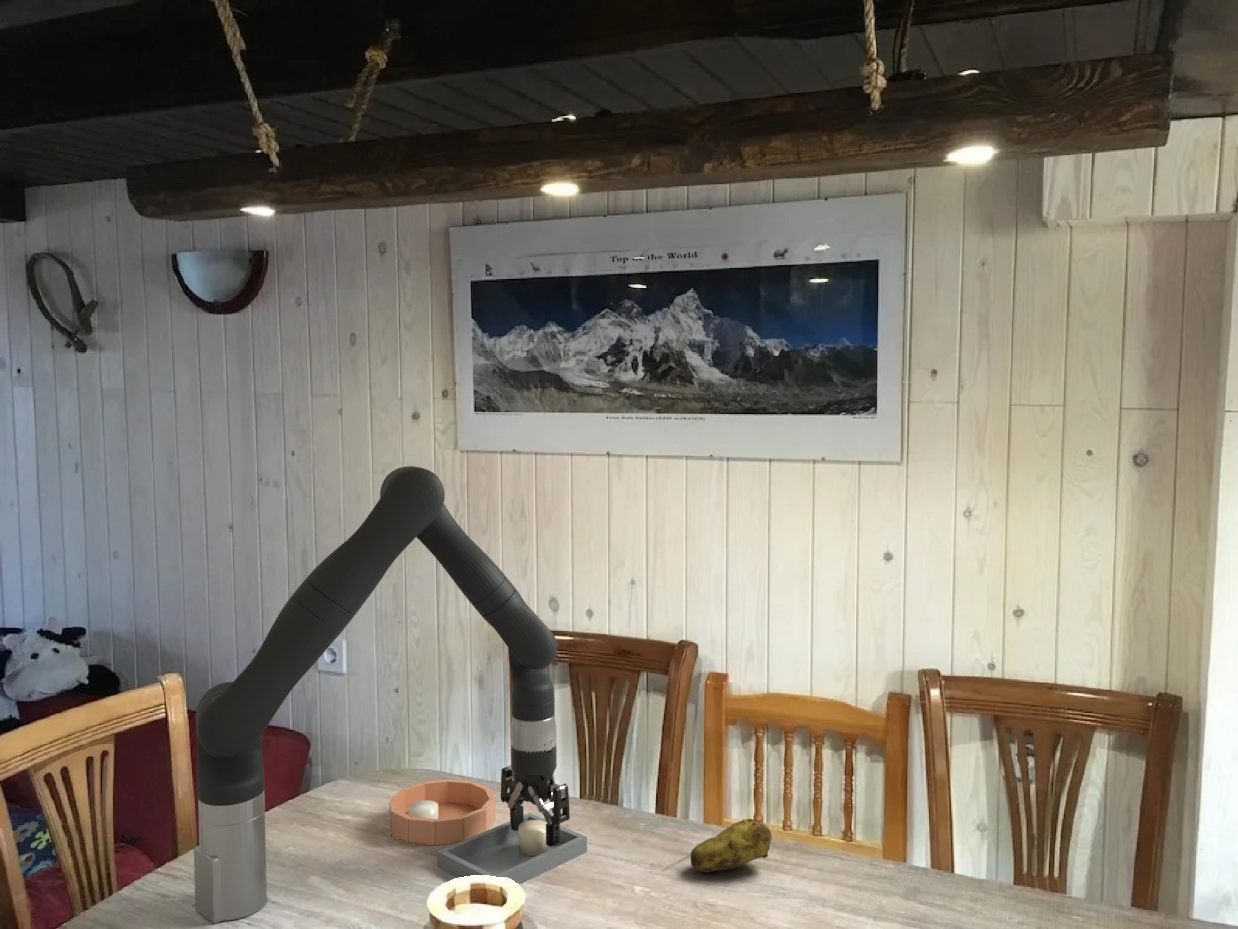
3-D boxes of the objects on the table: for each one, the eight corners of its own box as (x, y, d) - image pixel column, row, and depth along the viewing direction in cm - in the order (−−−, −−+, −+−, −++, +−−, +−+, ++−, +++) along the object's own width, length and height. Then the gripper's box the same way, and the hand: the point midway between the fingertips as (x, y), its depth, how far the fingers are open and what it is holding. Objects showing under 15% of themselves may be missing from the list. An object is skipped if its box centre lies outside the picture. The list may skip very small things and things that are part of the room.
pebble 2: (532, 859, 162) (532, 835, 162) (512, 850, 165) (512, 826, 165) (555, 849, 166) (555, 826, 165) (534, 840, 169) (534, 817, 169)
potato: (693, 855, 166) (693, 808, 165) (771, 860, 164) (771, 813, 164) (689, 879, 158) (689, 829, 157) (771, 885, 156) (771, 835, 155)
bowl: (432, 860, 164) (432, 831, 163) (370, 828, 176) (369, 800, 176) (514, 825, 177) (514, 798, 177) (451, 798, 189) (451, 772, 189)
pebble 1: (420, 837, 170) (420, 814, 170) (403, 828, 173) (403, 806, 173) (444, 828, 174) (444, 806, 173) (426, 820, 177) (426, 798, 177)
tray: (494, 902, 150) (494, 880, 150) (437, 872, 160) (437, 851, 159) (587, 857, 165) (587, 837, 165) (529, 832, 174) (529, 813, 174)
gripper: (488, 737, 166) (489, 831, 168) (546, 758, 157) (547, 858, 158) (521, 726, 172) (522, 817, 173) (580, 745, 162) (581, 842, 163)
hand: (534, 836), depth 166 cm, fingers open, 8 cm apart
